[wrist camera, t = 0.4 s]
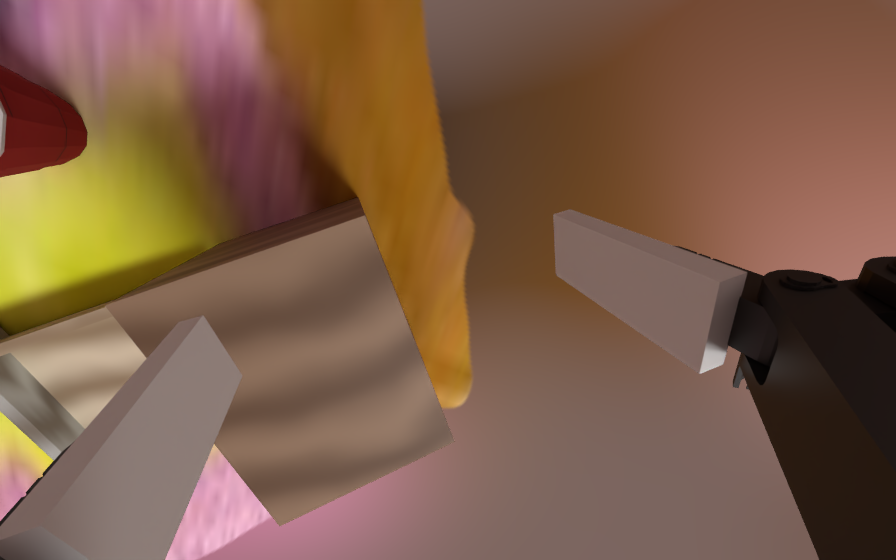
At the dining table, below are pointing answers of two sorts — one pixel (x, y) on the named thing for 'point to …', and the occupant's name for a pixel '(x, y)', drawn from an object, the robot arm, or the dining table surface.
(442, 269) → the dining table surface
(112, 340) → the tray
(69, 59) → the dining table surface
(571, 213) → the robot arm
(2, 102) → the plastic cup
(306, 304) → the block
